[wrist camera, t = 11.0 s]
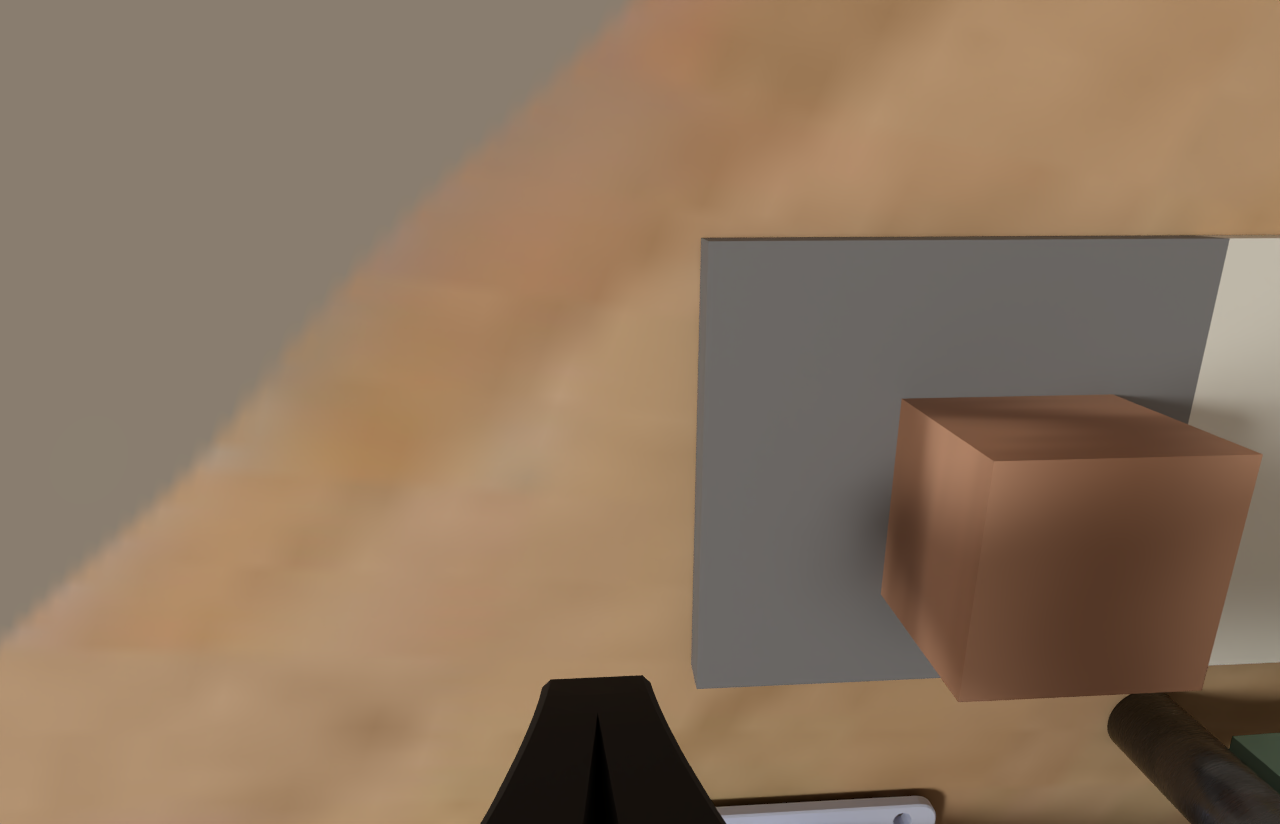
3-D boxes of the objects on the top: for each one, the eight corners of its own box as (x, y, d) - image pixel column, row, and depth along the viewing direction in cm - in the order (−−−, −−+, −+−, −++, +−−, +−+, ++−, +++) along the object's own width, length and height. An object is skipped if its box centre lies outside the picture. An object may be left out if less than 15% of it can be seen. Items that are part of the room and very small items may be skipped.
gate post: (1101, 750, 22) (1288, 955, 16) (1114, 691, 21) (1312, 882, 15) (1167, 746, 22) (1376, 948, 16) (1182, 688, 21) (1404, 876, 15)
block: (880, 594, 18) (958, 701, 15) (901, 398, 17) (993, 461, 13) (1076, 586, 19) (1202, 690, 15) (1112, 394, 17) (1263, 454, 13)
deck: (691, 664, 20) (696, 689, 19) (701, 237, 17) (708, 241, 16) (1476, 630, 21) (1518, 651, 20) (1626, 233, 18) (1684, 236, 17)
